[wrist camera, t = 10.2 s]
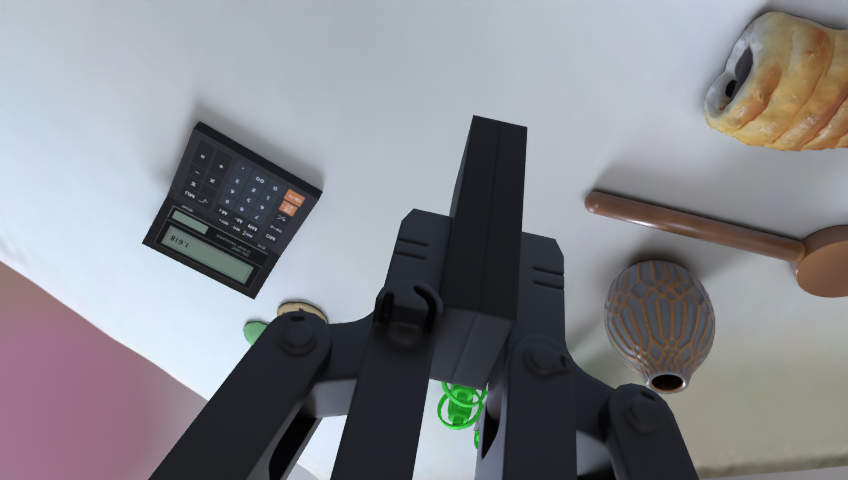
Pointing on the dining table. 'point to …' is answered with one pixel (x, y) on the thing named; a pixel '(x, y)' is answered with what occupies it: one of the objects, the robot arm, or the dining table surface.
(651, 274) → the vase
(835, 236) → the wooden spoon
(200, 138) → the calculator
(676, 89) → the dining table surface
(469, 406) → the chandelier
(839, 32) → the pastry
